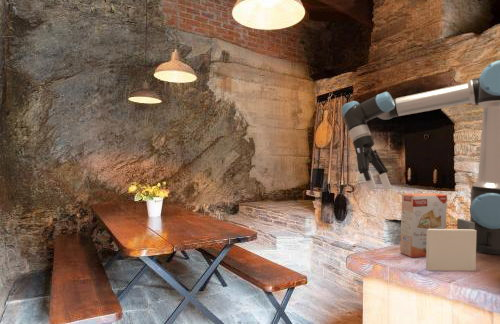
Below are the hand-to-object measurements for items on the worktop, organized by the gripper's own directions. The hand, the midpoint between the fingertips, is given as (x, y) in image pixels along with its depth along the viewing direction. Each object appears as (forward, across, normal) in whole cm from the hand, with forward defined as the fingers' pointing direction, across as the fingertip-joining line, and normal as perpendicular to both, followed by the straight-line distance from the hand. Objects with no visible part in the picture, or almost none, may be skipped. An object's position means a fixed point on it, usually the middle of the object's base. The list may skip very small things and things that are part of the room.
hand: (380, 189), depth 128 cm
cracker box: (+26, -1, +5) cm, 26 cm away
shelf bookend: (+30, +8, +13) cm, 33 cm away
